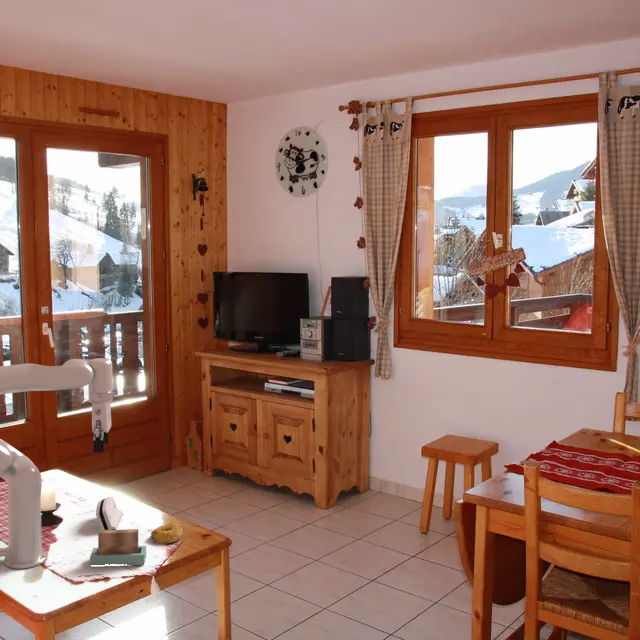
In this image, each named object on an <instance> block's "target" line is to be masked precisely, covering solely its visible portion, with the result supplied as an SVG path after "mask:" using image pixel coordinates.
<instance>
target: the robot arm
mask: <svg viewBox="0 0 640 640" xmlns="http://www.w3.org/2000/svg"><path fill="white" fill-rule="evenodd" d="M87 385H88V387H87V388H88V389H87V390H88V402H89V403H91V427H92V428H91V430H92V433H93V453H104V451H105V445H107V444H109V432H110V430H111V428H112V413H111V412H112V411H111V410H112V409H111V407H112V406H111V402H113V395H114V394H113V391H114V390H113V361H112V360H111V359H109V358H104V357H100V358H96V357H95V358H93V359H84V358H72V359H68V360H67V361H65V362H64V363H63V364H62V365H57V366H56V365H52V366H51V365H50V366H49V365H43V364H42V365H41V364H37V363H21V364H19V363H18V364H11V365H9V364H8V365H1V366H0V395H1V396H2V395H7V394H14V393H15V394H16V393H22V392H23V393H24V392H30V391H31V392H32V391H33V392H41V391H45V392H46V391H61V390H62V391H63V390H64V391H65V390H72V389H78V388H83V387H85V386H87ZM0 478H1V479H3V480H4V481H5V482H6V484H7V487H8V496H7V497H8V500H7V513H8V514H7V515H8V520H7V521H8V546H6V547H0V557H4V559H3V563H4V565H5V566H6V567H7V568H11V569H20V570H21V569H29V568H33V567H37V566H39V565H41V564H43V563H44V562H46V561H47V559H48V554H47V552H46V551H45V550H42V549H43V548H42V545H43V543H42V538H43V537H42V509H41V507H42V506H41V505H42V503H41V502H42V501H41V500H42V499H41V498H42V487H43V485H42V484H43V482H42V481H43V480H42V479H43V478H42V475H41V472H40V470H39V468H38V467H37V465H35V463H34V462H33V461H32V460H31V459H30V458H29V457H28V456H26V455H25V454H24V453H22V452H20V450H18V449H17V448H15V447H13V446H12V445H11V444H9V443H8V442H7V441H5V440H3V439H1V438H0Z"/></svg>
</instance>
